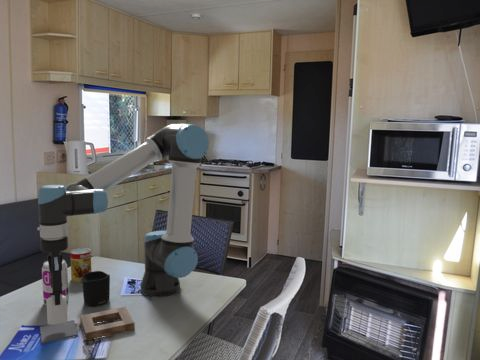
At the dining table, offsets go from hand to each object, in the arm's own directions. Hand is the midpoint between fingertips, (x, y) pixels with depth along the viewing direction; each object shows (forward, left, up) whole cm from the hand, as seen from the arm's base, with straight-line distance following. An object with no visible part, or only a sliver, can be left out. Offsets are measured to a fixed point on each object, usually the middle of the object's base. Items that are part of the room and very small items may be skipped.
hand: (57, 310), depth 124 cm
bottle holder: (-14, +3, -7) cm, 16 cm away
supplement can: (-1, -23, -7) cm, 24 cm away
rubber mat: (0, 0, -7) cm, 7 cm away
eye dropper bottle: (0, 0, -4) cm, 4 cm away
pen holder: (-14, -17, -7) cm, 23 cm away
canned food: (-12, -43, -7) cm, 45 cm away
